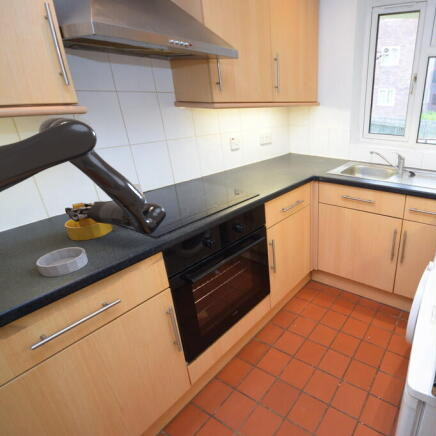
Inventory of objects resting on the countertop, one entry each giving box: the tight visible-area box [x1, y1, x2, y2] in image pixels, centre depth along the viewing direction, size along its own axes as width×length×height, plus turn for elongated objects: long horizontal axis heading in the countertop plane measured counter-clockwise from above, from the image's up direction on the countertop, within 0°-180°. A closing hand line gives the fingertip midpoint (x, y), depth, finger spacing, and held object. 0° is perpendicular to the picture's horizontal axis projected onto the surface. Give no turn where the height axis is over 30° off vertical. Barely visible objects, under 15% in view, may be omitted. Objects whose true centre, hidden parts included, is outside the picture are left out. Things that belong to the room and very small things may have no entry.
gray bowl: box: [35, 246, 89, 278], centre depth 90 cm, size 11×11×4 cm
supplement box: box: [71, 201, 91, 227], centre depth 106 cm, size 3×3×10 cm
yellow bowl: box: [64, 218, 114, 241], centre depth 110 cm, size 13×13×5 cm
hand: (73, 208), depth 106 cm, fingers closed on supplement box, 4 cm apart
